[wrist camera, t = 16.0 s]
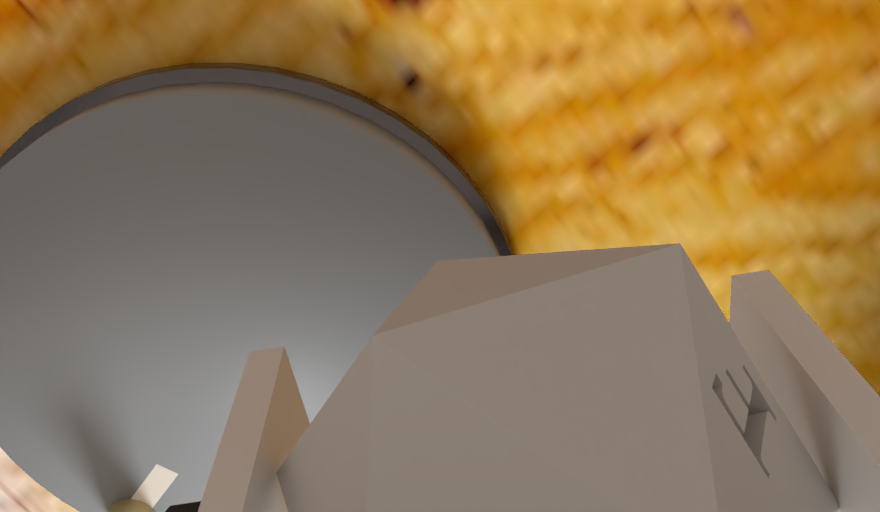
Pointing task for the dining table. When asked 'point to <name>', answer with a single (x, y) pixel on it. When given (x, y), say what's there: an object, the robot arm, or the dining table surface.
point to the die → (554, 399)
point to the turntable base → (287, 82)
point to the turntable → (197, 274)
